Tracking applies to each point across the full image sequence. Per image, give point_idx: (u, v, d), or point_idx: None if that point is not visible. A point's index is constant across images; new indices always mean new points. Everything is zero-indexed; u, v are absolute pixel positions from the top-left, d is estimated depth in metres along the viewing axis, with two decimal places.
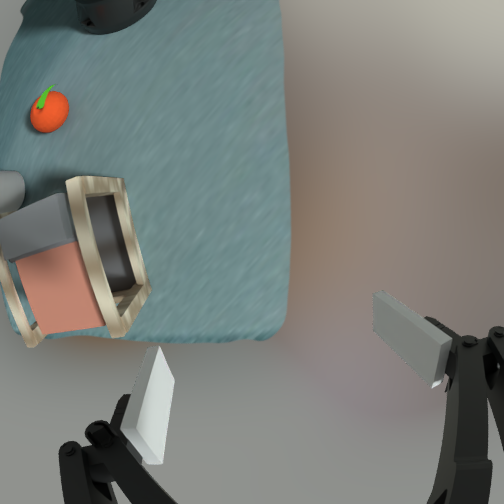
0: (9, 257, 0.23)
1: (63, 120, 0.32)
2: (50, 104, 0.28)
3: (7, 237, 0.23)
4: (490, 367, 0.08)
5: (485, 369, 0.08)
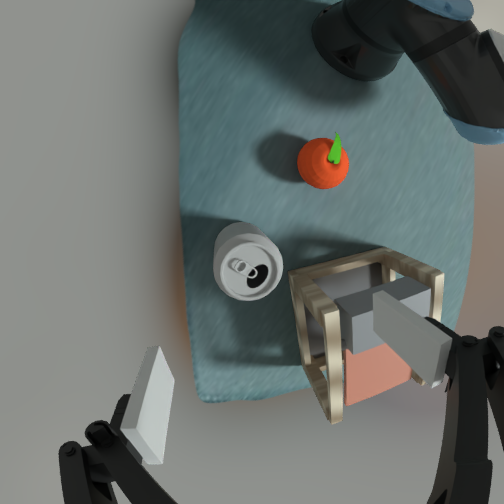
0: (362, 350, 0.28)
1: None
2: (345, 162, 0.32)
3: (366, 332, 0.28)
4: (490, 367, 0.08)
5: (485, 369, 0.08)
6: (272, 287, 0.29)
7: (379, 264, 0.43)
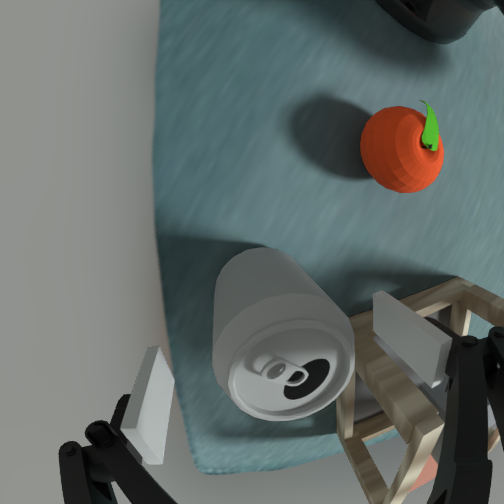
0: None
1: None
2: (442, 149, 0.16)
3: None
4: (490, 367, 0.08)
5: (485, 369, 0.08)
6: (334, 397, 0.12)
7: None
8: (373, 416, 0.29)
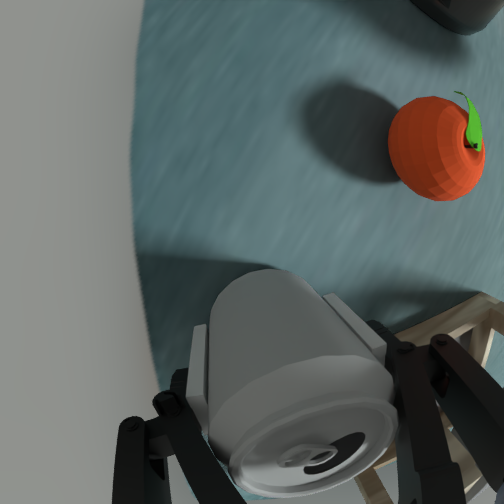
0: None
1: None
2: None
3: None
4: (432, 375, 0.10)
5: None
6: (366, 467, 0.08)
7: None
8: None
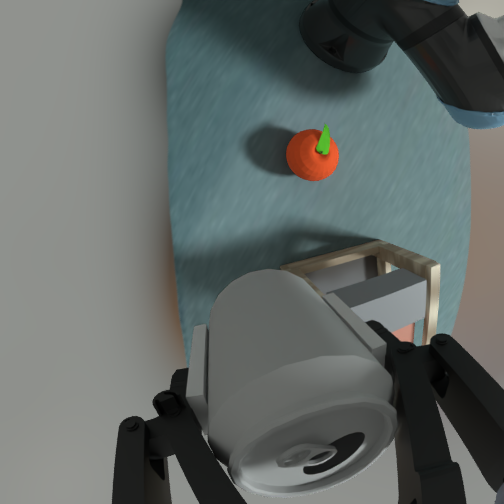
0: None
1: None
2: (334, 152, 0.32)
3: None
4: (432, 375, 0.10)
5: None
6: (365, 467, 0.08)
7: (374, 257, 0.42)
8: None
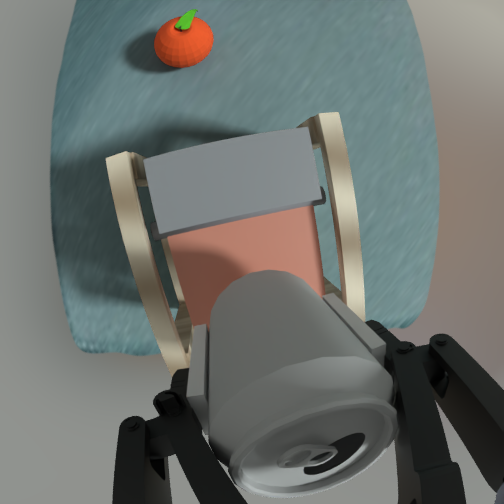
0: (175, 227, 0.18)
1: (206, 55, 0.26)
2: (199, 28, 0.22)
3: (174, 190, 0.17)
4: (431, 375, 0.10)
5: None
6: (365, 468, 0.08)
7: None
8: None
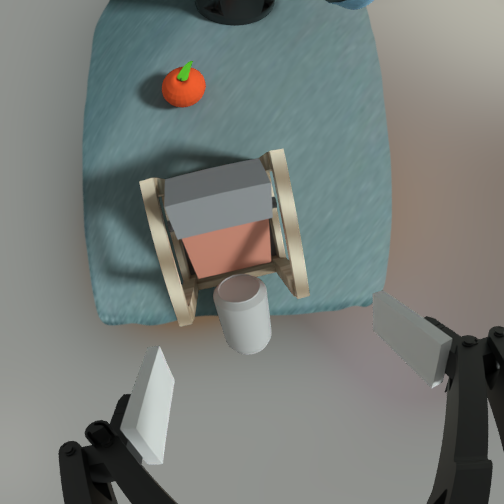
0: (186, 236, 0.31)
1: (200, 98, 0.39)
2: (195, 79, 0.35)
3: (186, 220, 0.29)
4: (490, 367, 0.08)
5: (485, 369, 0.08)
6: None
7: None
8: None
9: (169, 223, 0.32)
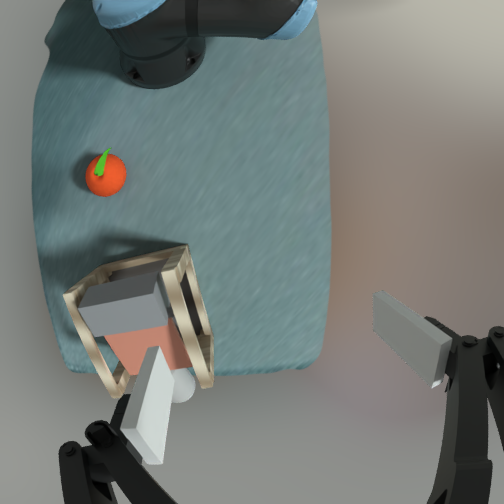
0: (100, 335, 0.32)
1: (122, 185, 0.40)
2: (110, 172, 0.36)
3: (96, 321, 0.31)
4: (490, 367, 0.08)
5: (485, 369, 0.08)
6: None
7: None
8: None
9: None
